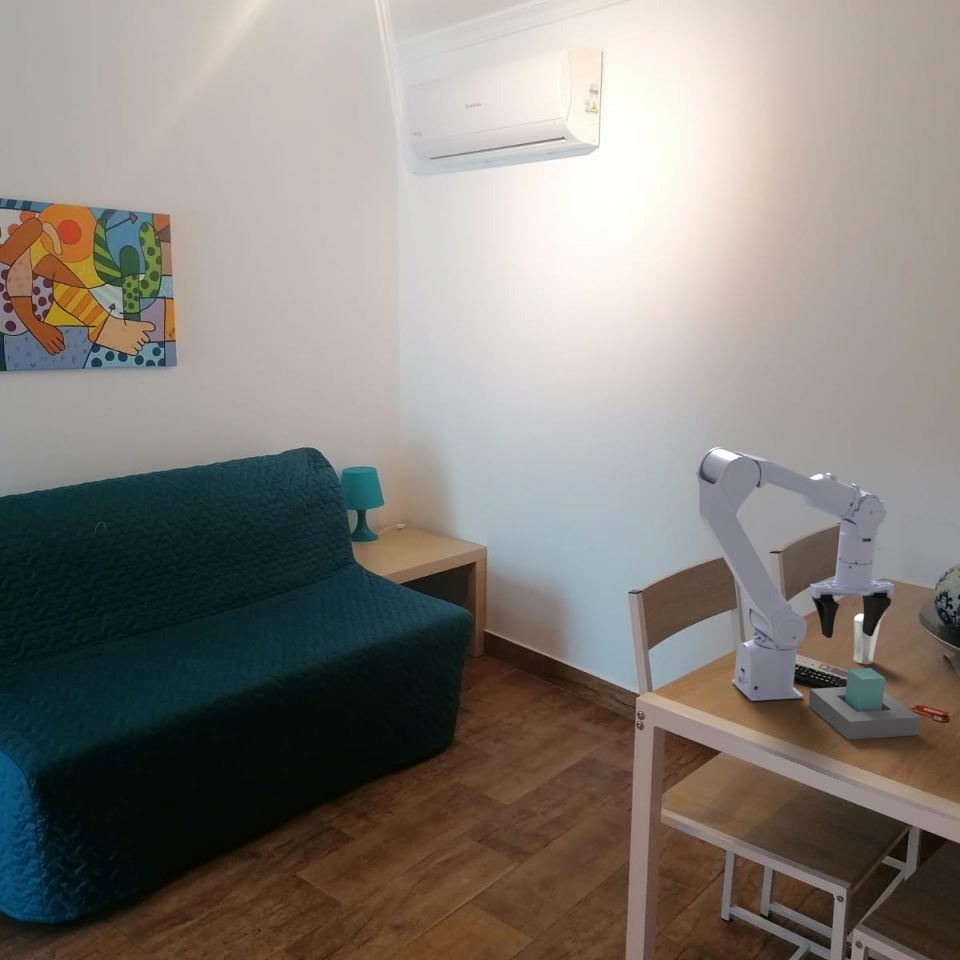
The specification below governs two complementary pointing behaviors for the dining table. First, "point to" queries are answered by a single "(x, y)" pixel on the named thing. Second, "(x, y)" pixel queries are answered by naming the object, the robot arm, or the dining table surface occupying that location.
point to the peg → (864, 690)
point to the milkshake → (864, 641)
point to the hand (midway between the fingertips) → (847, 635)
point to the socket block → (863, 716)
